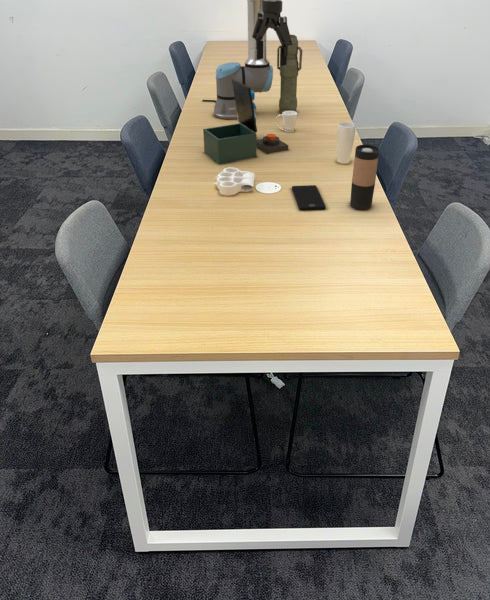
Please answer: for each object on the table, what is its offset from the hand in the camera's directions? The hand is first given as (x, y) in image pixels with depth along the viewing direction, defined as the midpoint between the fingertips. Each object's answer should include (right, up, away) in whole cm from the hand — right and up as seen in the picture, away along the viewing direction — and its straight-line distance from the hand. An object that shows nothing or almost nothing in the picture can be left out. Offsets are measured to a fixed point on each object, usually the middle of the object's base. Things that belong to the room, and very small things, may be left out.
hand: (271, 62), depth 213 cm
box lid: (-11, -16, +4) cm, 20 cm away
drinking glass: (+29, -37, +7) cm, 48 cm away
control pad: (0, -28, +20) cm, 34 cm away
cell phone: (+13, -57, -22) cm, 62 cm away
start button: (0, -25, +17) cm, 30 cm away
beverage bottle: (-11, -22, +28) cm, 37 cm away
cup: (+7, -15, +38) cm, 42 cm away
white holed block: (-14, -51, -13) cm, 54 cm away
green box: (-17, -33, +12) cm, 39 cm away
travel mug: (+30, -60, -26) cm, 72 cm away
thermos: (+9, +1, +61) cm, 62 cm away
